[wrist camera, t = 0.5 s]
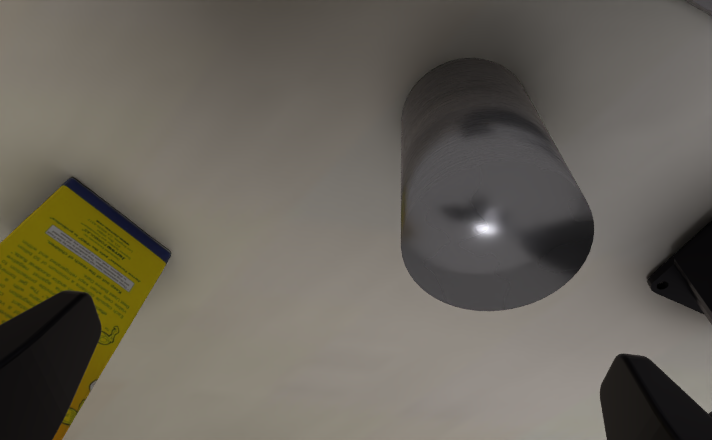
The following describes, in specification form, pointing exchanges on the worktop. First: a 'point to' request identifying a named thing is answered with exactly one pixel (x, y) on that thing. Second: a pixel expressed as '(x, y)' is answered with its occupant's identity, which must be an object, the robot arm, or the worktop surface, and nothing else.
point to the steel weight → (486, 192)
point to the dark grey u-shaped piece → (702, 5)
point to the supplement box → (80, 269)
